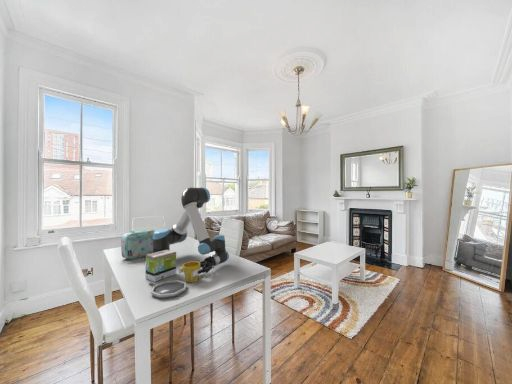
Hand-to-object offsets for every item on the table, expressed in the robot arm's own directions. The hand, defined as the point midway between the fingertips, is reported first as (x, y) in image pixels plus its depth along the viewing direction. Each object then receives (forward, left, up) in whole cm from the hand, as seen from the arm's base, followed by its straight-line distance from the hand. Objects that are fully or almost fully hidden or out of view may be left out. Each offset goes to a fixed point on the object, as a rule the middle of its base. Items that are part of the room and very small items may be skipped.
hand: (186, 272), depth 127 cm
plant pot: (0, +4, -6) cm, 8 cm away
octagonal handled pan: (-4, -12, -6) cm, 14 cm away
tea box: (-21, -1, -6) cm, 22 cm away
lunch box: (-71, +17, -6) cm, 73 cm away
